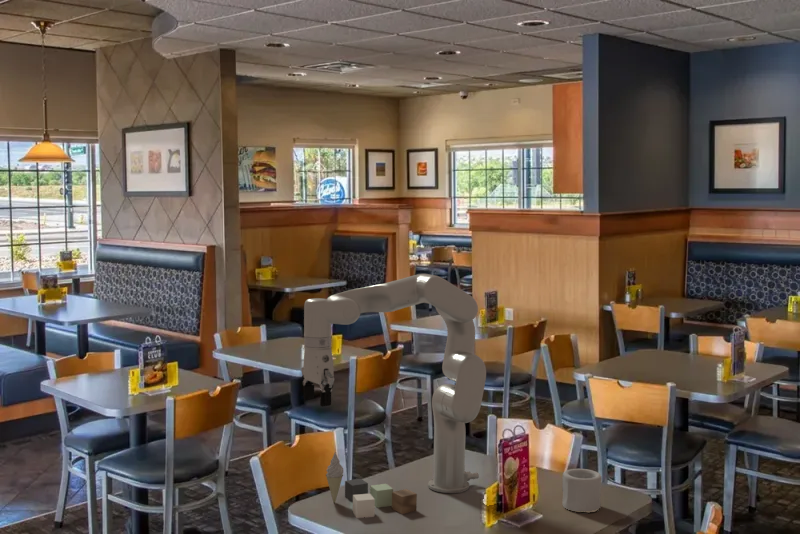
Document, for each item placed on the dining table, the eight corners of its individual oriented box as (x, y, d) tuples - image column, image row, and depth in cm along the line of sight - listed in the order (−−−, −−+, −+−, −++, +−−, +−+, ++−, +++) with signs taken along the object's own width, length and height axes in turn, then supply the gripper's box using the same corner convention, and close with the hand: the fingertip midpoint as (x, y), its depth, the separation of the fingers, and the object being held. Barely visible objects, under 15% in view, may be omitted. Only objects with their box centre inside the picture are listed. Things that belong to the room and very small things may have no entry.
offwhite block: (369, 510, 251) (370, 493, 250) (374, 516, 246) (374, 499, 246) (352, 512, 249) (352, 494, 249) (356, 518, 245) (357, 500, 244)
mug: (608, 510, 254) (609, 475, 253) (580, 516, 248) (581, 481, 248) (576, 496, 266) (577, 463, 265) (548, 502, 260) (549, 468, 259)
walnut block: (406, 506, 255) (406, 488, 255) (416, 511, 251) (416, 493, 251) (391, 509, 252) (392, 491, 252) (401, 514, 248) (402, 496, 248)
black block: (360, 495, 264) (360, 478, 264) (367, 500, 260) (367, 483, 259) (344, 497, 262) (345, 480, 261) (352, 502, 257) (352, 485, 257)
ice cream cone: (340, 506, 254) (340, 454, 253) (323, 504, 255) (323, 453, 254) (345, 500, 259) (345, 449, 258) (328, 499, 260) (328, 448, 259)
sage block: (385, 500, 260) (386, 483, 259) (392, 505, 255) (393, 488, 255) (370, 502, 258) (370, 485, 257) (376, 508, 253) (376, 490, 253)
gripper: (344, 345, 245) (344, 406, 247) (314, 337, 260) (314, 395, 261) (320, 348, 241) (320, 410, 242) (291, 339, 255) (291, 398, 257)
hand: (317, 402), depth 252 cm, fingers open, 9 cm apart
